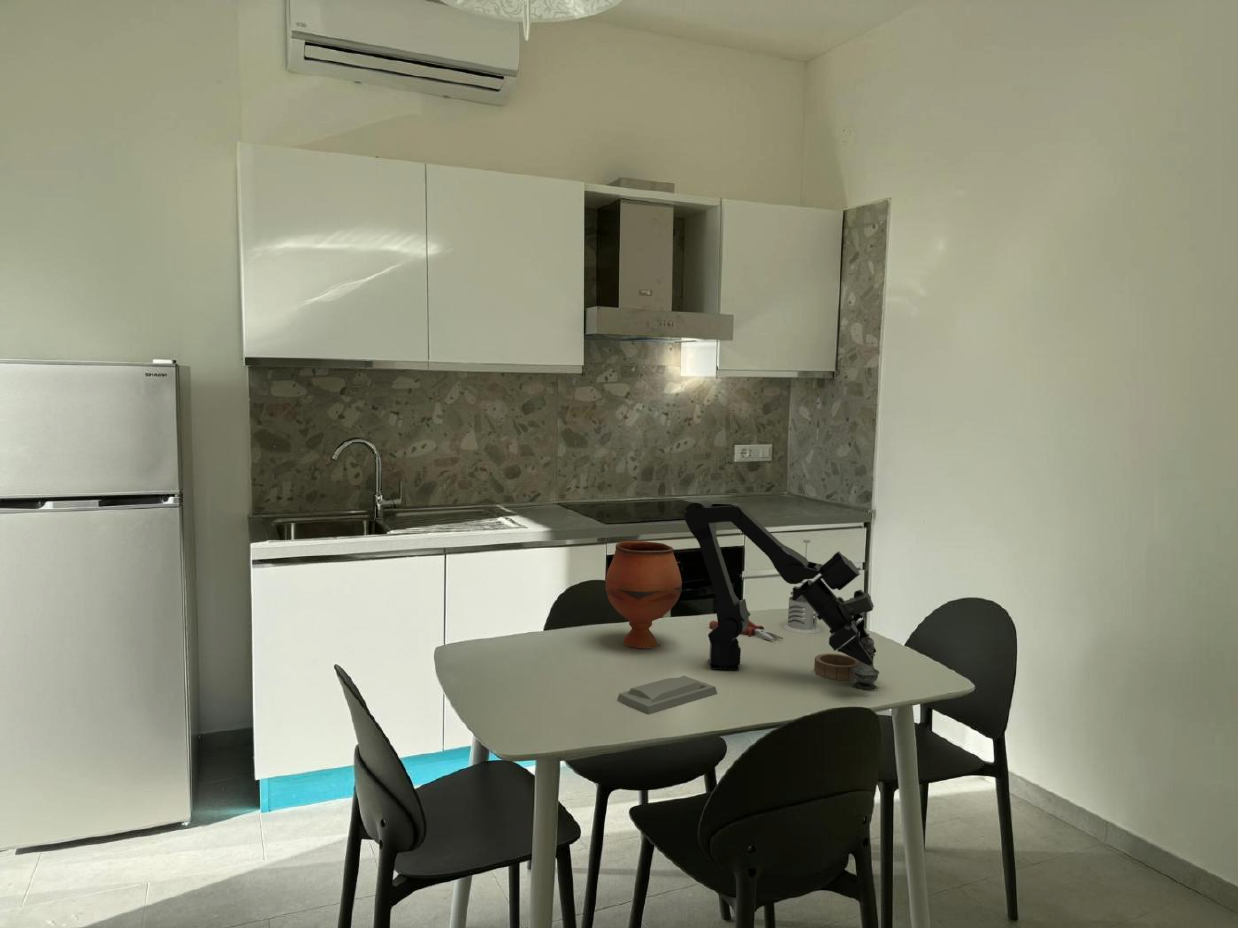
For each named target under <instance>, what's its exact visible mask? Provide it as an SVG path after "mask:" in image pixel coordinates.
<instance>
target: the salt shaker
mask: <svg viewBox="0 0 1238 928" xmlns="http://www.w3.org/2000/svg"><path fill="white" fill-rule="evenodd" d="M861 644H862V646H863V647H864V649H865V650H866V652H867V653H868V655H869V656H870V658H871V660H872V661H873V663H872V664H871V665H867V664H865V663H863V662H861V661H859V664H858V666H857V667H854V668H852V671H853V675H854V678H855V679H854V680H856V682H853V683H852V685H851V686H852V687H853V688H855V689H856V690H860V691H867V692H872V690H873V691H876V690H877V689H878V686H877V685H876V684H875V682H876V681H877V679H878V678H879V677H878V676H879V675H880V674H881V673H880V671H879V670H878V669H876V668H875V666H874V657H875V656H876V653H873V652H874V647H875V640H874V639H873V638H871V637H870V634H869V633H867V637H864V638H862V639H861ZM875 689H876V690H875Z"/></svg>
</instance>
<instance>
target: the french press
mask: <svg viewBox="0 0 1238 928" xmlns="http://www.w3.org/2000/svg"><path fill="white" fill-rule="evenodd" d="M803 543H805V552H807V548H808V543H809V544H810V543H811V538H809V537H805V538H804V539H803ZM804 557H805V558H806V559H807V554H805V556H804ZM817 578H818V577H817V576H816V577H815V578H813V579H804V580H803V581H802V582H801V583H800V584H801V585H802V584H804V583H805V582H806V581H807V580H811V581H812V582H813V581H814V580H816V579H817ZM790 595H791V596H790V597H789V598H788V614H787V616H788V618H787V623H786V624H785V625H784V626H783V629H785V630H787V631H789V632H792V633H797V634H803V635H804V634H805V635H806V634H818V633H820V632H821V629H820V627H818V626H817V625H818V618H817V615H818V614H817V613H816V612H815V611H814V610H813V608H812V607H811V606H810V605H809V604H808V603H807V601H806V600H805V599H804V598H803V597H802V596H800V597H799V598H797V599H796V600H795V601H794V600H793V599H792V598H793V590H792V591H790ZM803 618H804V619H803Z"/></svg>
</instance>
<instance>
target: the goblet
mask: <svg viewBox="0 0 1238 928" xmlns="http://www.w3.org/2000/svg"><path fill="white" fill-rule="evenodd" d="M675 556H676V555H674V548H673V546H669V545H667V544H666V543H664V542H654V541H653V542H652V541H646V540H645V541H644V540H625V541H619V542H617V543H616V544H615V551H614V554H613V557H612V560H611V563H610V565H609V567H608V568H607V571H606V577H605V592H606V595H607V599H608V601H609V602H610V604H611V605H612V608H614V609H615V611H617V612H618V613H619V615H620V616H622V617H623V618H625V620H628V625H629V627H630V628H631V630H630V631H629V632H627V634H626V635H625V636H624V638H623V640H622V644H623V643H624V644H623V645H625V646H627V647H629V648H633V647H634V649H635V648H636V649H652V648H654V646H655V647H657V646H658V642H657V639H656V637H655V635H654V634H653V633H652V632H651V630H650V628H651V627H652V626H653V622H654V621H657V620H659V619H660V618H662V617H663V616H665V615H666V614H667V613H669V612H670V611H671V610H672V609H673V607H674V606H675V605H676V603H677V602H678V600H679V599H680V596H681V593H682V589H683V581H682V576H681V575H682V574H681V572H680V571H681V570H680V568H679V565H678V563H677V559H676V557H675ZM656 645H657V646H656Z"/></svg>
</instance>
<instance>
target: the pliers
mask: <svg viewBox="0 0 1238 928" xmlns="http://www.w3.org/2000/svg"><path fill="white" fill-rule="evenodd" d="M717 625H718V621H715V620H711V621H710V622H709V625H708V626H709V628H710V629H711V630H713V629H714V628H715V627H716V626H717ZM740 635H743V636H748V637H749V638H752V637H755V638H760V639H762V640H767V641H773V642H776V641H777V640H784V637H782V636H779V635H777V634H775V633H772V632H770V631H768V630H765V627H764V626H763V625H756V624H755V623H753V622H752V621H751V620H749V623H748V625H747V627H746V628H745V630H744V631H743V632H742V633H741V634H740Z"/></svg>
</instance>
